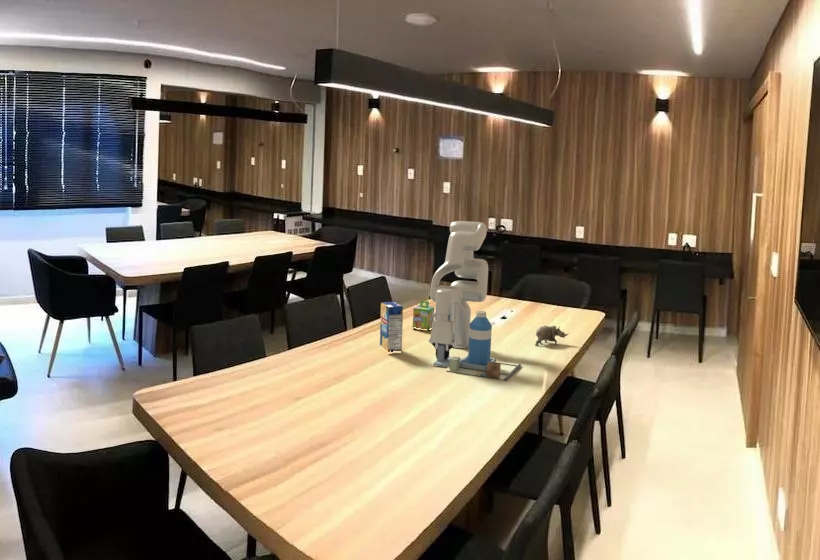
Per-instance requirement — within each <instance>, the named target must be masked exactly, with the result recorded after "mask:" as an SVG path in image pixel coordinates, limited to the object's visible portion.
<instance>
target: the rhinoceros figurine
mask: <svg viewBox="0 0 820 560" xmlns="http://www.w3.org/2000/svg"><path fill="white" fill-rule="evenodd" d="M560 327H561V326H560V325H559V326H558V327H557V326H556V325H551V326H548V325H543V326H539V327H538V328H537V330H536V331H535V336H536V337H537V340H536V342H535V345H534V346H535V347H539V345H541V344H542V341H544V343H548V342H554V345H555V344H557V343H558V341H557V339H556V337H560V338H563V339H564V338H566V337H567V336H568V335H569V332H568V333H565V332H564V331H562V330H561V329H560ZM539 343H540V344H539ZM557 345H558V344H557Z"/></svg>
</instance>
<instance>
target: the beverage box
mask: <svg viewBox="0 0 820 560" xmlns="http://www.w3.org/2000/svg"><path fill="white" fill-rule="evenodd" d="M403 313H404V306H403V305H401V304H399V303H398V302H397V301H383V302H380V324H379V325H380V328H379V330H380V331H379V334H380V335H379V337H380V338H379V346H380V345H381V346H382V347H383V348H384V349H385V350H387V351H388V352H390V351H391V352H393V351H402V350H403V325H404V324H403V320H404V319H403V318H404V317H403V315H404V314H403ZM402 352H403V351H402Z"/></svg>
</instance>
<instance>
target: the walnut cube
mask: <svg viewBox="0 0 820 560" xmlns="http://www.w3.org/2000/svg"><path fill="white" fill-rule="evenodd" d="M501 363H502V362H499V361H498V362H497V361H495V362H488V364H487V376H486V377H493V378H499V376H500V373H501V367H502V366H501V365H502V364H501Z"/></svg>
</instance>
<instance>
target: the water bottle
mask: <svg viewBox="0 0 820 560" xmlns="http://www.w3.org/2000/svg"><path fill="white" fill-rule="evenodd" d="M475 314H476V316H475V317H474V318H473V319H472V320H471V321H470V328H469V348H468V354H467V355H468V361H467V363H470V364H477V365H483V366H486V365H487V364H488V362H490V358H491V351H492V350H491V346H492V329H493V325H492V323H491V322H490V321H489V319H488V317H487V311H484V310H477V311H476V313H475Z"/></svg>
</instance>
